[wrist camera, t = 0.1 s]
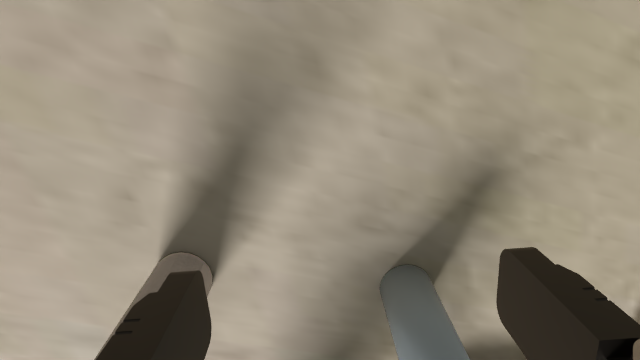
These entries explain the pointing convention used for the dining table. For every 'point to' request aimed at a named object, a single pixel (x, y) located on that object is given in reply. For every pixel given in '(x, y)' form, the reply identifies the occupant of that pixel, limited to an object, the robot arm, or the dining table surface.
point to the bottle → (162, 270)
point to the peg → (418, 317)
